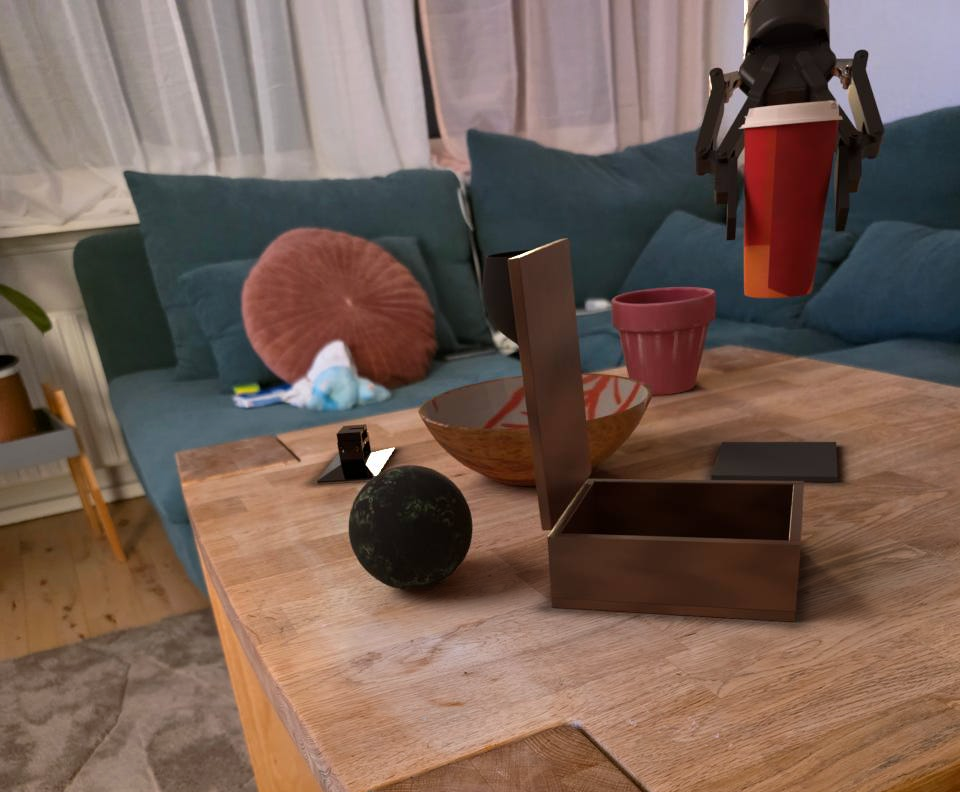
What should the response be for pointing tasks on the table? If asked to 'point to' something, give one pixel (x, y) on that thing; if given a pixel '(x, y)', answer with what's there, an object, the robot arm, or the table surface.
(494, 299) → the wine glass
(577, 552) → the storage box
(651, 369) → the flower pot
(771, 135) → the coffee cup
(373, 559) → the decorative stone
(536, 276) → the lid
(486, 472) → the bowl
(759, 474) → the mat
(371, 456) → the black block with wedges
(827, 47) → the robot arm
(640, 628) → the table surface
